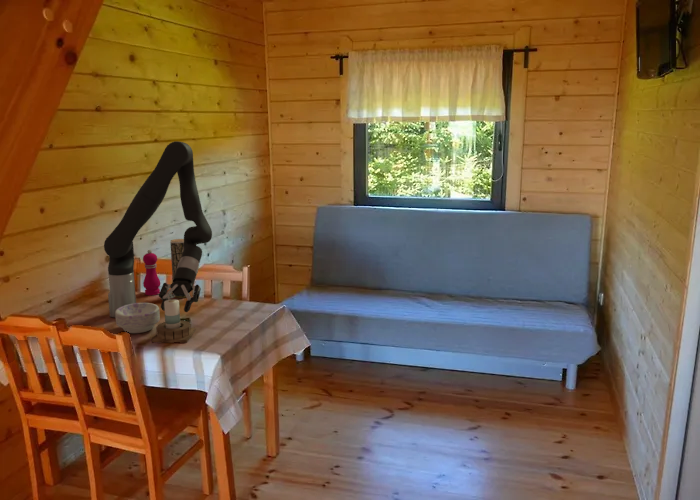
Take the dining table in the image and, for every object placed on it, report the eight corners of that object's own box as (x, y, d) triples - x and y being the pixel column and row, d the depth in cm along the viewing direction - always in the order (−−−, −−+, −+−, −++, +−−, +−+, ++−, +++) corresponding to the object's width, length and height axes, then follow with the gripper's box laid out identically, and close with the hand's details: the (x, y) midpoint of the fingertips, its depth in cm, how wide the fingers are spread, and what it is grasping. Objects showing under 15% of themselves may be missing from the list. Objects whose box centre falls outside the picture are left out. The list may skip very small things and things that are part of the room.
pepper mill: (140, 294, 255) (137, 250, 251) (151, 290, 262) (148, 247, 258) (153, 296, 253) (150, 252, 248) (164, 292, 259) (161, 248, 255)
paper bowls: (136, 339, 203) (135, 318, 202) (107, 331, 211) (105, 311, 209) (169, 326, 216) (168, 306, 215) (140, 319, 224) (139, 300, 222)
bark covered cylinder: (185, 299, 250) (182, 242, 244) (170, 297, 251) (167, 241, 246) (192, 294, 256) (189, 239, 251) (178, 293, 258) (175, 238, 252)
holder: (152, 342, 201) (151, 331, 200) (162, 330, 212) (161, 320, 211) (186, 342, 201) (186, 331, 200) (195, 330, 213) (194, 320, 212)
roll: (164, 336, 204) (162, 303, 201) (168, 331, 209) (166, 299, 206) (178, 336, 204) (176, 303, 201) (182, 331, 209) (180, 299, 206)
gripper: (165, 265, 213) (151, 304, 204) (201, 267, 211) (189, 307, 202) (172, 275, 219) (159, 314, 210) (208, 277, 217) (196, 316, 208)
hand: (174, 310), depth 206 cm, fingers open, 8 cm apart
